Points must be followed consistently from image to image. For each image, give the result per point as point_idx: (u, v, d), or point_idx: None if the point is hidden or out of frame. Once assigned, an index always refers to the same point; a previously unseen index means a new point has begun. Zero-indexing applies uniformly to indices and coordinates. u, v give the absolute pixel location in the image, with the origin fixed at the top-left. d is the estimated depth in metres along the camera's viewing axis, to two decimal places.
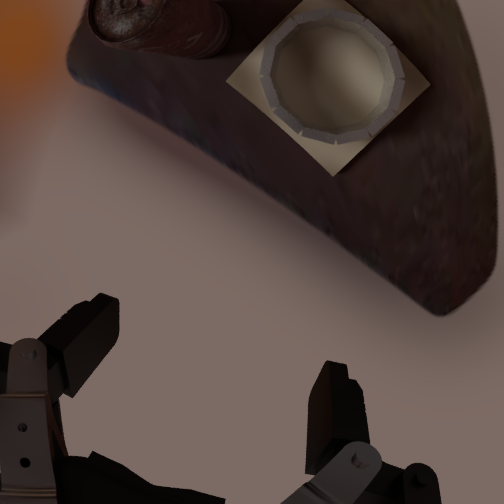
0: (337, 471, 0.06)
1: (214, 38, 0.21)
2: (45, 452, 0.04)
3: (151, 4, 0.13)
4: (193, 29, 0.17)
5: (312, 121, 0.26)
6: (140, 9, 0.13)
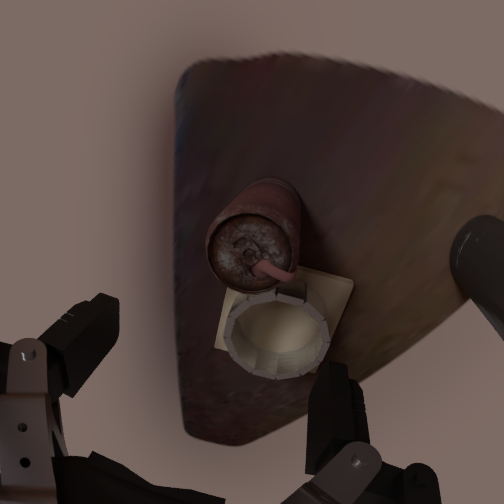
0: (337, 471, 0.06)
1: None
2: (45, 452, 0.04)
3: (254, 278, 0.21)
4: None
5: (240, 321, 0.37)
6: (247, 269, 0.21)
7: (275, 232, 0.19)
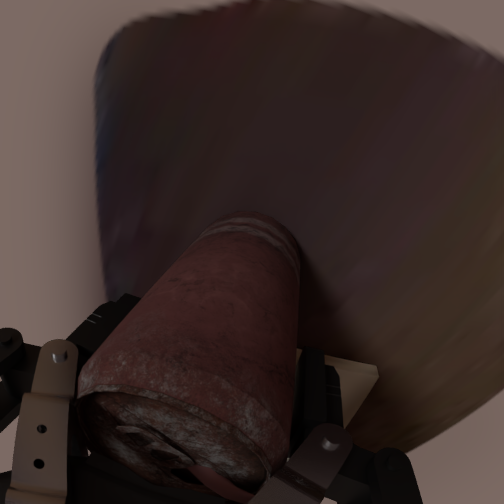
0: (305, 450, 0.07)
1: None
2: (61, 456, 0.04)
3: (186, 484, 0.08)
4: None
5: None
6: (168, 470, 0.07)
7: (222, 434, 0.06)
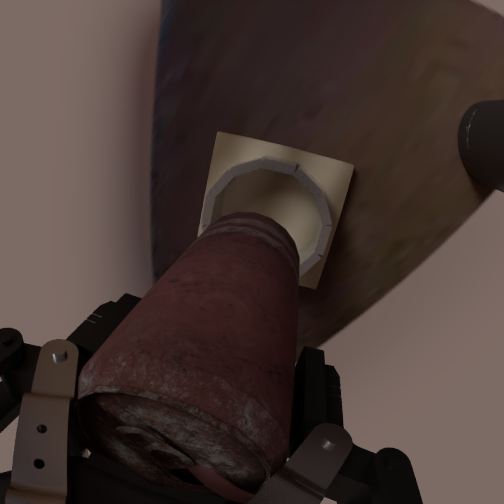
0: (305, 450, 0.07)
1: None
2: (61, 456, 0.04)
3: (186, 484, 0.08)
4: None
5: None
6: (168, 470, 0.07)
7: (221, 435, 0.06)
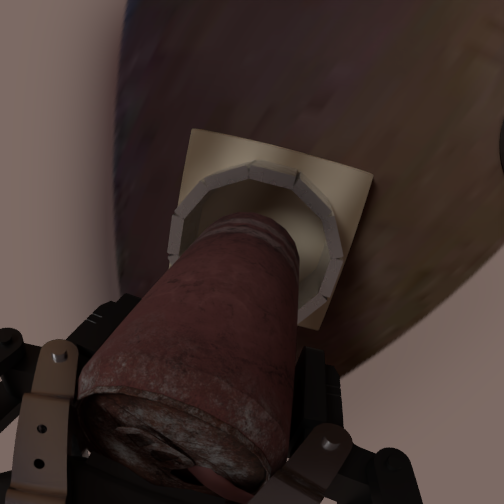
0: (305, 450, 0.07)
1: None
2: (61, 456, 0.04)
3: (186, 484, 0.08)
4: None
5: None
6: (168, 470, 0.07)
7: (221, 435, 0.06)
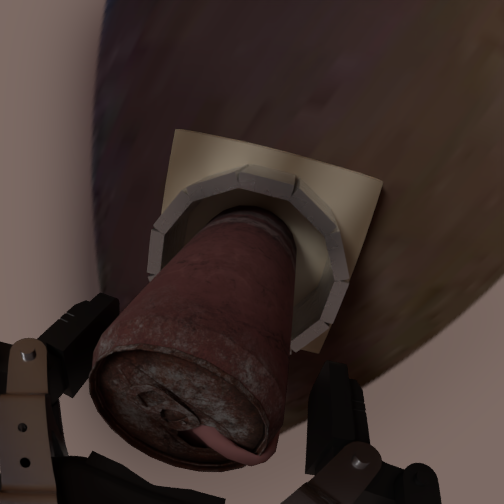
0: (337, 471, 0.06)
1: None
2: (45, 452, 0.04)
3: (191, 448, 0.09)
4: None
5: None
6: (175, 433, 0.09)
7: (225, 389, 0.07)
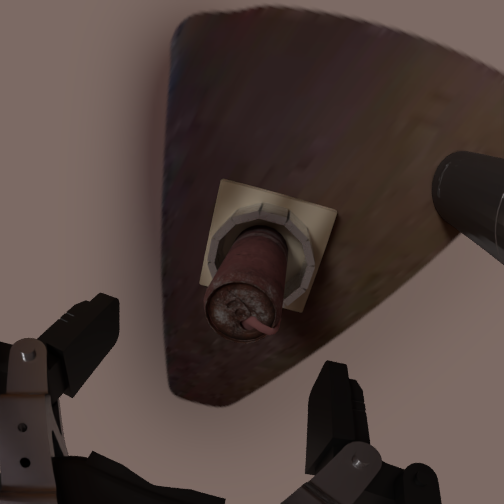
0: (337, 471, 0.06)
1: None
2: (45, 452, 0.04)
3: (244, 330, 0.25)
4: None
5: (225, 253, 0.38)
6: (238, 323, 0.25)
7: (261, 297, 0.23)
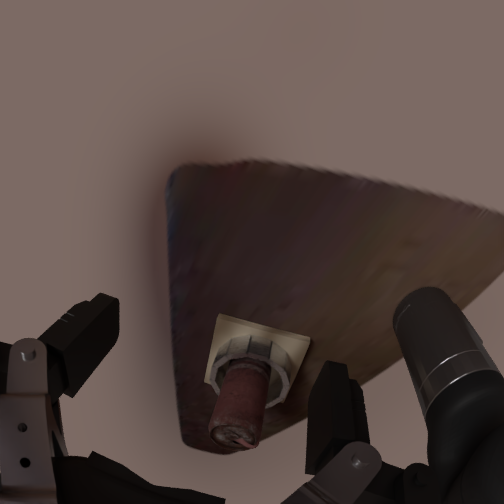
0: (337, 471, 0.06)
1: None
2: (45, 452, 0.04)
3: (236, 444, 0.33)
4: None
5: (223, 365, 0.46)
6: (231, 440, 0.33)
7: (246, 431, 0.32)
